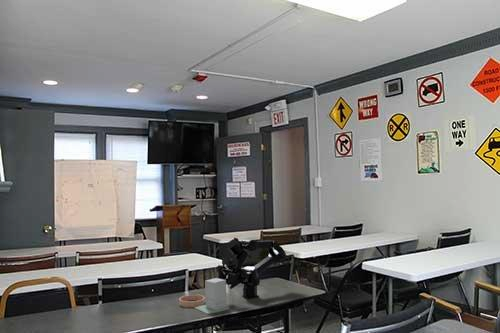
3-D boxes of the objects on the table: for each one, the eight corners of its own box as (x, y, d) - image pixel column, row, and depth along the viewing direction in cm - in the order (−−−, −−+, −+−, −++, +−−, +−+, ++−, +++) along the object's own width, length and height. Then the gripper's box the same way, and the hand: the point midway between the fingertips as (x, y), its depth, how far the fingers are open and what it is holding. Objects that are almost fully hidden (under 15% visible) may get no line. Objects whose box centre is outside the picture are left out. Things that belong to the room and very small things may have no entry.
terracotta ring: (197, 298, 209) (197, 293, 209) (209, 303, 199) (209, 298, 199) (174, 302, 202) (174, 297, 202) (186, 308, 192) (186, 303, 192)
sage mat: (216, 303, 199) (216, 302, 199) (229, 309, 190) (229, 308, 190) (194, 308, 192) (194, 307, 192) (207, 314, 183) (207, 313, 183)
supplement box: (227, 306, 192) (226, 279, 192) (215, 310, 186) (214, 282, 187) (216, 304, 197) (216, 277, 197) (204, 307, 191) (204, 280, 192)
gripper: (218, 249, 208) (202, 274, 200) (244, 252, 195) (228, 280, 187) (229, 262, 213) (214, 287, 205) (256, 266, 201) (240, 293, 192)
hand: (223, 287), depth 197 cm, fingers open, 9 cm apart
